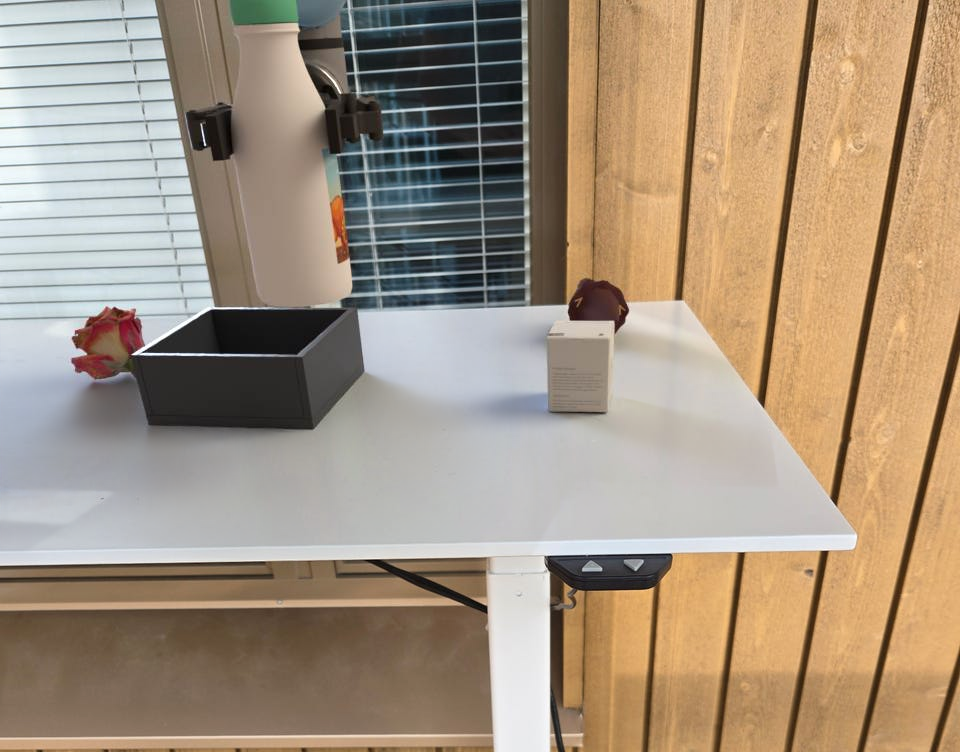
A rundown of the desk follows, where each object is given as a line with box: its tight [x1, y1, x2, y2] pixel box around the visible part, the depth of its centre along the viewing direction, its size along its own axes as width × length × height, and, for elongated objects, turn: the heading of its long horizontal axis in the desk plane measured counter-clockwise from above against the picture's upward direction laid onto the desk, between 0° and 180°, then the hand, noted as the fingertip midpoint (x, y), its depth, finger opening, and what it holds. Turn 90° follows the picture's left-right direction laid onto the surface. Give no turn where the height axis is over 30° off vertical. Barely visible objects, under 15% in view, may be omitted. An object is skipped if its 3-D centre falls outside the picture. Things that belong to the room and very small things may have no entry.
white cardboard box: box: [545, 320, 615, 413], centre depth 87 cm, size 6×6×7 cm
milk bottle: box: [228, 0, 353, 308], centre depth 67 cm, size 8×8×20 cm
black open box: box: [130, 307, 365, 430], centre depth 93 cm, size 18×18×7 cm
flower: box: [70, 306, 146, 381], centre depth 100 cm, size 10×9×8 cm
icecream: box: [567, 277, 630, 336], centre depth 105 cm, size 7×7×15 cm
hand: (273, 135), depth 62 cm, fingers closed on milk bottle, 7 cm apart
